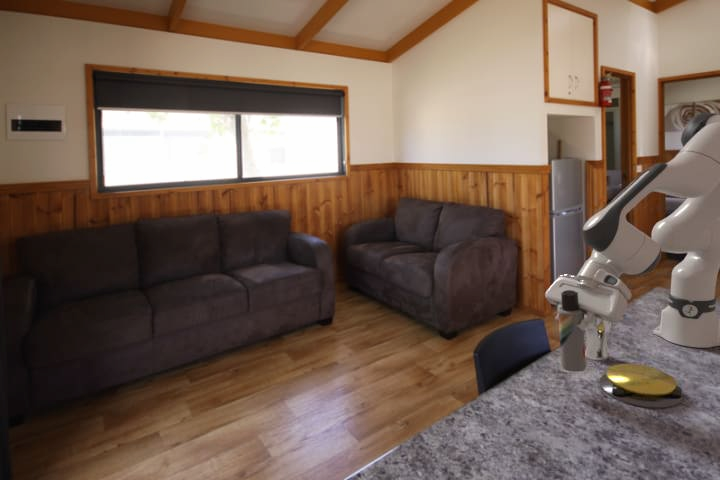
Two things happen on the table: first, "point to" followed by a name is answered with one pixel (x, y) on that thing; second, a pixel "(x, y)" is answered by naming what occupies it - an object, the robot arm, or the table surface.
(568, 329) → the lotion bottle
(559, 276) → the robot arm
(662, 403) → the levelling base
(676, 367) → the table surface
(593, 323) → the beer glass
